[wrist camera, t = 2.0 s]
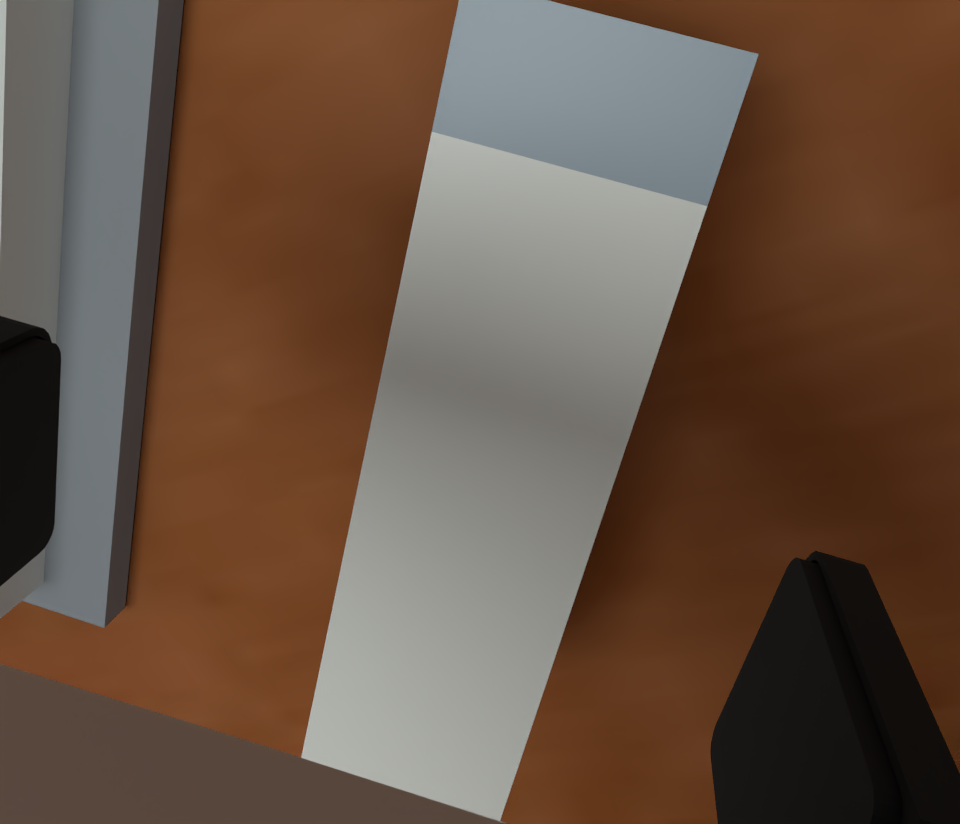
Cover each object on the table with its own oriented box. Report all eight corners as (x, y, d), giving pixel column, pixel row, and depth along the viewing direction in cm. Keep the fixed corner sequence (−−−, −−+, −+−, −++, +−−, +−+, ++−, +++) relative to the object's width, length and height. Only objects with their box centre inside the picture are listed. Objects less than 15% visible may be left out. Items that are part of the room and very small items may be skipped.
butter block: (536, 641, 22) (498, 825, 17) (386, 593, 23) (300, 760, 17) (723, 63, 17) (758, 54, 11) (523, 11, 17) (464, -21, 12)
